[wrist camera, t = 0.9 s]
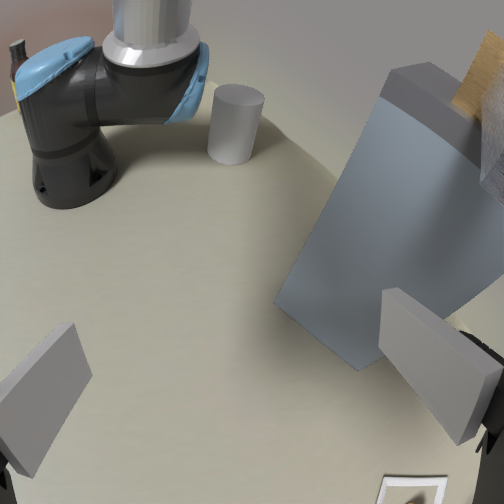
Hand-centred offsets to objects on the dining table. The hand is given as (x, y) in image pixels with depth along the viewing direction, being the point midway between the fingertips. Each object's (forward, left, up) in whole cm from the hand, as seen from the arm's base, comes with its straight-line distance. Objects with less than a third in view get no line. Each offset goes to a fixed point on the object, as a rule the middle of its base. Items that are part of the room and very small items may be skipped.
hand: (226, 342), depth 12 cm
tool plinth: (-8, +22, -22) cm, 32 cm away
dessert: (+25, +17, -23) cm, 39 cm away
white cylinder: (-40, +15, -23) cm, 48 cm away
